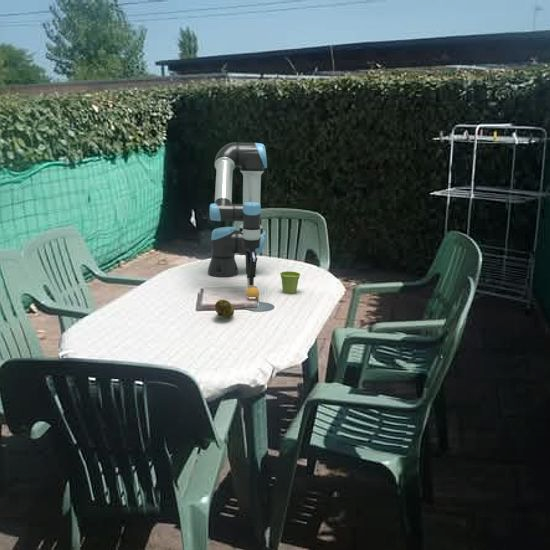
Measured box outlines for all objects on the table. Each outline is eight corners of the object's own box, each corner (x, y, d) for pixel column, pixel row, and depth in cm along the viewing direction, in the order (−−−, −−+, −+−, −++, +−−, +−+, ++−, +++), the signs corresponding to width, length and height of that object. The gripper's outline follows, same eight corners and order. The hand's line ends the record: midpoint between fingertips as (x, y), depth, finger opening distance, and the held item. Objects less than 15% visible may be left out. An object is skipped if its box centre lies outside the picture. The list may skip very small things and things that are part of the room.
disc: (237, 304, 246) (237, 304, 246) (264, 300, 253) (264, 300, 253) (252, 313, 235) (252, 312, 235) (280, 309, 242) (280, 308, 242)
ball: (244, 285, 253) (246, 295, 249) (256, 283, 254) (259, 292, 250) (246, 294, 257) (248, 303, 253) (258, 291, 257) (261, 300, 254)
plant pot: (300, 290, 271) (301, 271, 269) (299, 295, 262) (300, 276, 260) (280, 288, 272) (280, 270, 269) (278, 294, 263) (279, 275, 260)
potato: (241, 314, 234) (241, 295, 232) (227, 324, 222) (227, 303, 220) (222, 311, 237) (222, 292, 235) (207, 321, 225) (207, 301, 223)
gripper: (239, 236, 257) (238, 288, 262) (246, 241, 245) (245, 296, 250) (256, 235, 259) (255, 287, 264) (263, 241, 246) (262, 295, 252)
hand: (250, 291), depth 257 cm, fingers closed
